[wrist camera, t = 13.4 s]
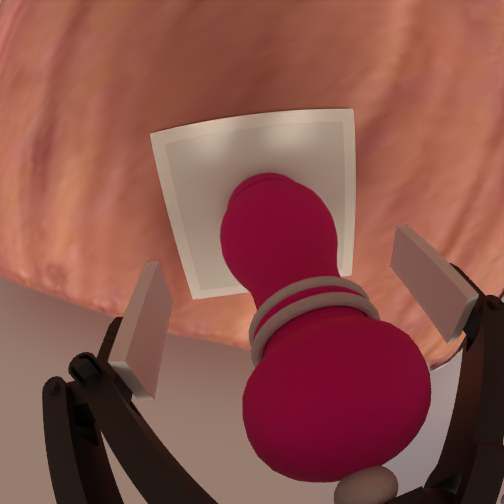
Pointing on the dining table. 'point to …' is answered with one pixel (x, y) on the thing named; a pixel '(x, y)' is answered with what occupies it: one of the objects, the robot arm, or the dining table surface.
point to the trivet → (243, 167)
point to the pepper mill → (318, 349)
